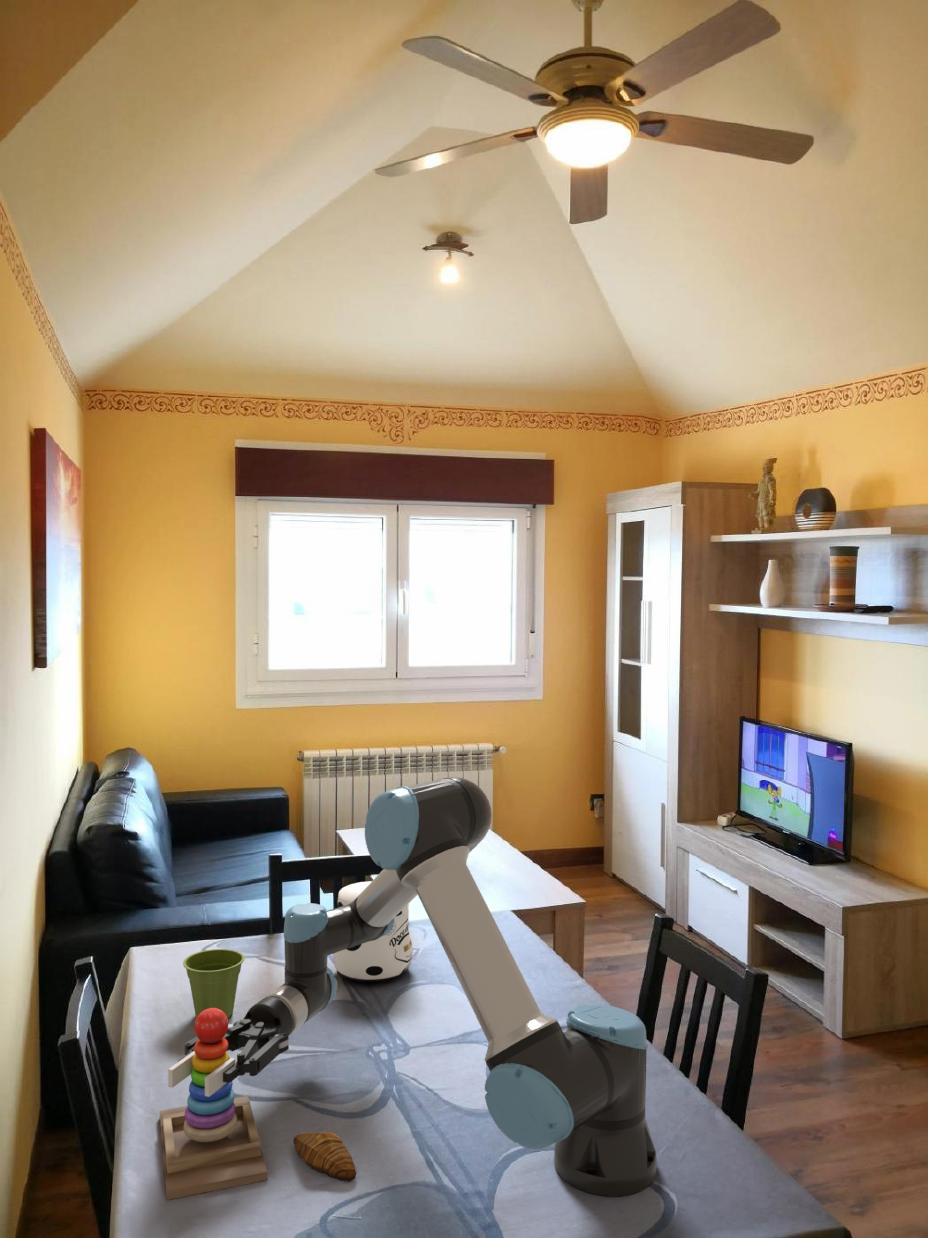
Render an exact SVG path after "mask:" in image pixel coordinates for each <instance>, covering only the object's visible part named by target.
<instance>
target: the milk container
mask: <svg viewBox="0 0 928 1238" xmlns="http://www.w3.org/2000/svg"><path fill="white" fill-rule="evenodd" d="M372 881H373V880H371V881H360V882H359V881H358V882H355V883H350V884H348V885H346V886H344V887H342V888H340V890H339V891H338V897H337V908H338V907H341V906H344V905H348V904H350V903H351V902H353V901H354V900H355V899H356V898H357V897H358V896H359V895H360V894H361V892H362V891H363V890H364V889H365V888H366V887H367V886H368V885H369V884H370V883H371V882H372ZM409 904H410V903H409ZM409 904H408V905H407V906H406V907H405V908H403V909H402V910H401V911H400V912H399V913H398V914H397V915H396V916H395V917H394V923H393V928H392V930H391V931H390V932H389V933H388V934H386V935H384V936H382V937H380V938H378V939H377V940H374V941H369V942H366V943H363V944H360V945H357V946H354V947H351V948H348V949H345V950H342V951H339V952H336V953H333V954H332V955H333V961H334V965H335V969H336V971H337V972H338V973H339V974H340V975H342V977H345V978H347V979H349V980H352V981H357V982H362V983H364V982H365V983H369V982H370V983H378V982H385V981H386V982H387V981H390V980H392V979H396V978H398V977H399V976H401V975H403V974H404V973H406V972H407V971H408V970H409V968H410V966H411V964H412V960H413V952H414V951H413V943H412V937H411V935H410V931H409V916H410V915H409V912H410V910H409Z"/></svg>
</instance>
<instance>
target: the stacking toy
mask: <svg viewBox="0 0 928 1238" xmlns="http://www.w3.org/2000/svg"><path fill="white" fill-rule="evenodd" d="M228 1024H229V1018H227V1016H226V1014H225V1013H224V1012H223V1011H222V1010H220V1009H217V1008H209V1009H206V1010H204V1011H202V1012H201V1013H200V1014H199V1015H198V1017H197V1018H196V1017H195V1022H194V1024H193V1025H194V1026H193V1028H194V1029H193V1031H194V1033H195V1037H196V1036H197V1037H198V1039H199V1040H198V1041H197V1042H196V1044H195V1046H194V1051H195V1056H194V1057H193V1059H192V1065H193V1067H194V1068H193V1069H192V1072H191V1075H190V1079H191V1081H190V1082H189V1085H188V1092H189V1095H188V1096H187V1101H186V1102H187V1103H186V1104H187V1105H186V1106H187V1108H186V1110H185V1119H186V1120H185V1122H184V1133H185V1134H186V1136H187V1137H188V1138H190V1139H192V1140H194V1141H198V1142H213V1141H217V1140H220V1139H223V1138H225V1137H227V1136H228V1135H230V1134H231V1133H232V1132H233V1131H234V1130H235V1128H236V1126H237V1116H236V1114H235V1104H234V1102H233V1101H234V1098H235V1091H234V1089H233V1084H234V1083H233V1081H232V1082H230V1083H226V1084H225V1085H223V1086H222V1087H221V1088H220V1089H218V1090H217V1091H216V1092H215V1093H213V1094H212V1095H211V1096H210V1097H207V1096H205V1077H207V1076H208V1075H209V1074H211V1073H212V1072H213V1071H215V1070H216V1069H217V1068H218V1067H220V1066H221V1065H222V1064H224V1063H225V1062H226V1061H228V1060H229V1059H230V1055H229V1054H228V1051H227V1049H228V1041H227V1040H226V1039H225V1038H224V1036H225V1034H226V1032H227V1030H228Z"/></svg>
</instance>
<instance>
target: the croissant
mask: <svg viewBox="0 0 928 1238" xmlns="http://www.w3.org/2000/svg"><path fill="white" fill-rule="evenodd" d="M292 1143H293V1145H294V1149H295V1151H296V1154H297V1155H298V1156H299V1159H302V1160H303V1162H304V1164H306V1165H307V1166H308V1167H309V1169H311V1170H313V1171H315V1172H316V1173H319V1174H323V1175H326V1176H327V1177H329V1178H331V1179H335V1180H337V1181H341V1182H343V1181H344V1182H348V1183H349V1182H352V1181H354V1180H355V1178H356V1177H357V1169H356V1166H355V1165H356V1164H355V1163H354V1160H353V1158H352V1156H351V1154H350V1152H349V1150H348V1149H347V1148H346V1146H345V1144H344V1142H343V1140H342V1139H341V1138H340V1137H339V1136H338V1135H337V1134H336V1133H335V1132H332V1131H329V1130H328V1131H307V1132H301V1133H298V1134H296V1135H295V1136H293V1141H292Z"/></svg>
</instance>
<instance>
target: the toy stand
mask: <svg viewBox="0 0 928 1238" xmlns="http://www.w3.org/2000/svg"><path fill="white" fill-rule="evenodd" d="M233 1102H234V1104H235V1114H236V1116H237V1126H236V1128H235V1130H234V1131H233V1132H232V1133H231V1134H230V1135H228V1136H227V1137H225V1138H223V1139H220V1140H217V1141H213V1142H198V1141H194V1140H192V1139H190V1138H188V1137H187V1136H186V1134H185V1133H184V1122H185V1120H186V1119H185V1110H186V1108H187V1106H188V1105H185V1106H181V1107H175V1108H174V1107H173V1108H168V1109H162V1110H161V1109H160V1110H159V1125H160V1126H159V1127H160V1137H161V1147H162V1159H163V1168H164V1169H163V1170H164V1171H163V1172H164V1180H165V1191H166V1192H165V1193H166V1201H169V1200H175V1199H178V1198H179V1199H180V1198H184V1197H188V1196H193V1195H198V1194H204V1193H209V1192H214V1191H218V1190H219V1191H220V1190H222V1189H228V1188H234V1187H239V1186H245V1185H249V1184H254V1183H258V1182H262V1181H263V1182H264V1181H268V1180H269V1179H268V1168H267V1165H266V1161H265V1158H264V1157H265V1156H264V1153H263V1149H262V1145H261V1144H262V1143H261V1139H260V1135H259V1133H258V1128H257V1125H256V1121H255V1117H254V1114H253V1110H252V1105H251V1102H250V1099H249V1096H248V1095H244V1096H238V1097H234V1101H233Z"/></svg>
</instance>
